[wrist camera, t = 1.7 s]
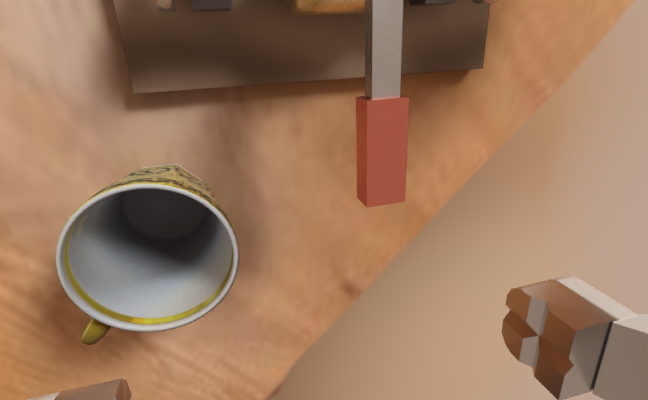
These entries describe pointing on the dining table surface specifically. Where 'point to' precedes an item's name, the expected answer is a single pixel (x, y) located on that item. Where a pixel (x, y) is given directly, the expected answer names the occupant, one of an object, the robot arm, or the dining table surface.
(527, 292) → the robot arm
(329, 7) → the pipe valve
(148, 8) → the walnut board
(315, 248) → the dining table surface
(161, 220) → the ceramic cup
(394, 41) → the valve lever
